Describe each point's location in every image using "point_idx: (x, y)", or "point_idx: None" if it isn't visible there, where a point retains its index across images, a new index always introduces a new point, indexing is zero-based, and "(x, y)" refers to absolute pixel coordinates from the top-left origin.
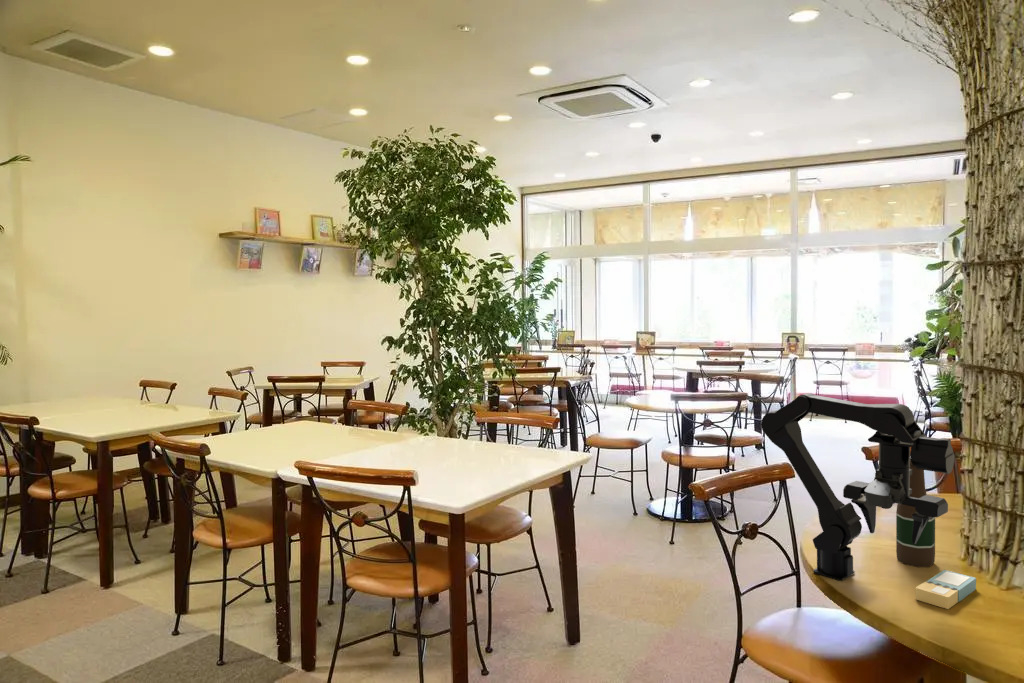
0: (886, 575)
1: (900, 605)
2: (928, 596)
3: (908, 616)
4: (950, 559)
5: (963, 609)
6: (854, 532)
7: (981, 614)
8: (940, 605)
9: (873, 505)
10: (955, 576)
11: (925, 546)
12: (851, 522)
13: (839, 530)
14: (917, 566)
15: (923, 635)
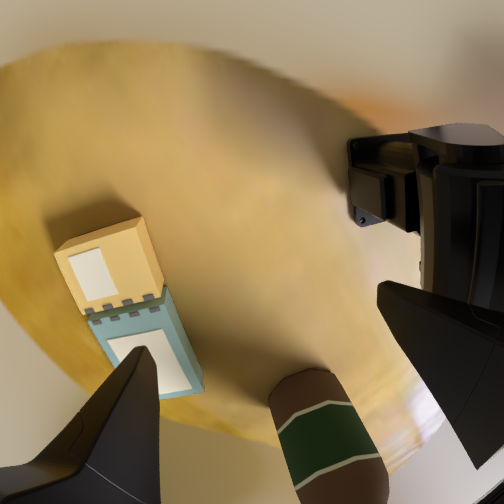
0: (299, 288)
1: (138, 143)
2: (103, 232)
3: (83, 105)
4: (268, 434)
5: (62, 275)
6: (438, 229)
7: (36, 285)
8: (82, 236)
9: (476, 421)
10: (158, 380)
11: (285, 427)
12: (488, 229)
13: (478, 144)
14: (283, 379)
15: (18, 64)
